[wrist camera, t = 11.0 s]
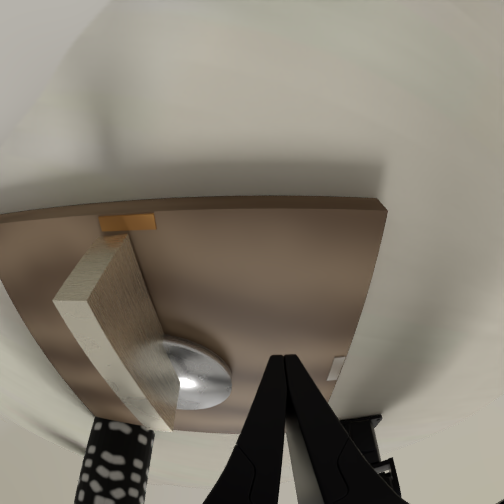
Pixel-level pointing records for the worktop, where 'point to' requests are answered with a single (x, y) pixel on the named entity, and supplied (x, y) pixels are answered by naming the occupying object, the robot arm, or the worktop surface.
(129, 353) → the cream block with dome
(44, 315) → the dial plate
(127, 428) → the white-spotted black cylinder
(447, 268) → the worktop surface
